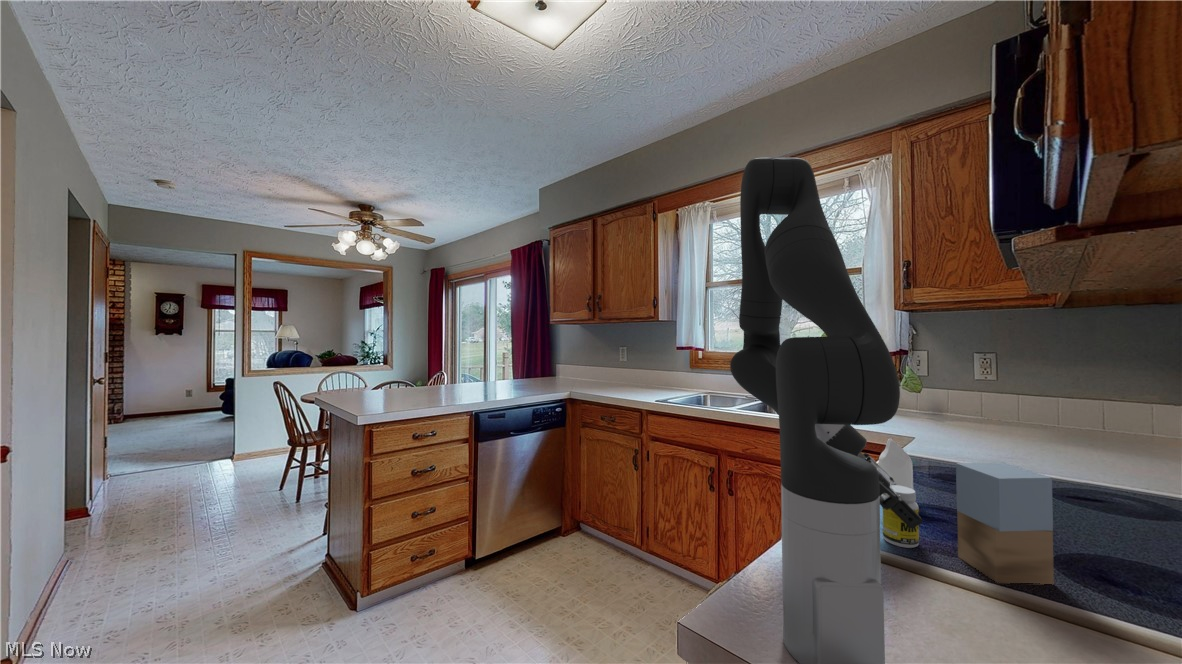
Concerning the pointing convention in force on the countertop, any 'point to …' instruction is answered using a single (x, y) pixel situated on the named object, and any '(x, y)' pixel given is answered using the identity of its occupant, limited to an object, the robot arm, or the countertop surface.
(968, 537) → the walnut block
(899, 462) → the white bottle
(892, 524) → the supplement bottle
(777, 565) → the countertop surface
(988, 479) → the slate block
